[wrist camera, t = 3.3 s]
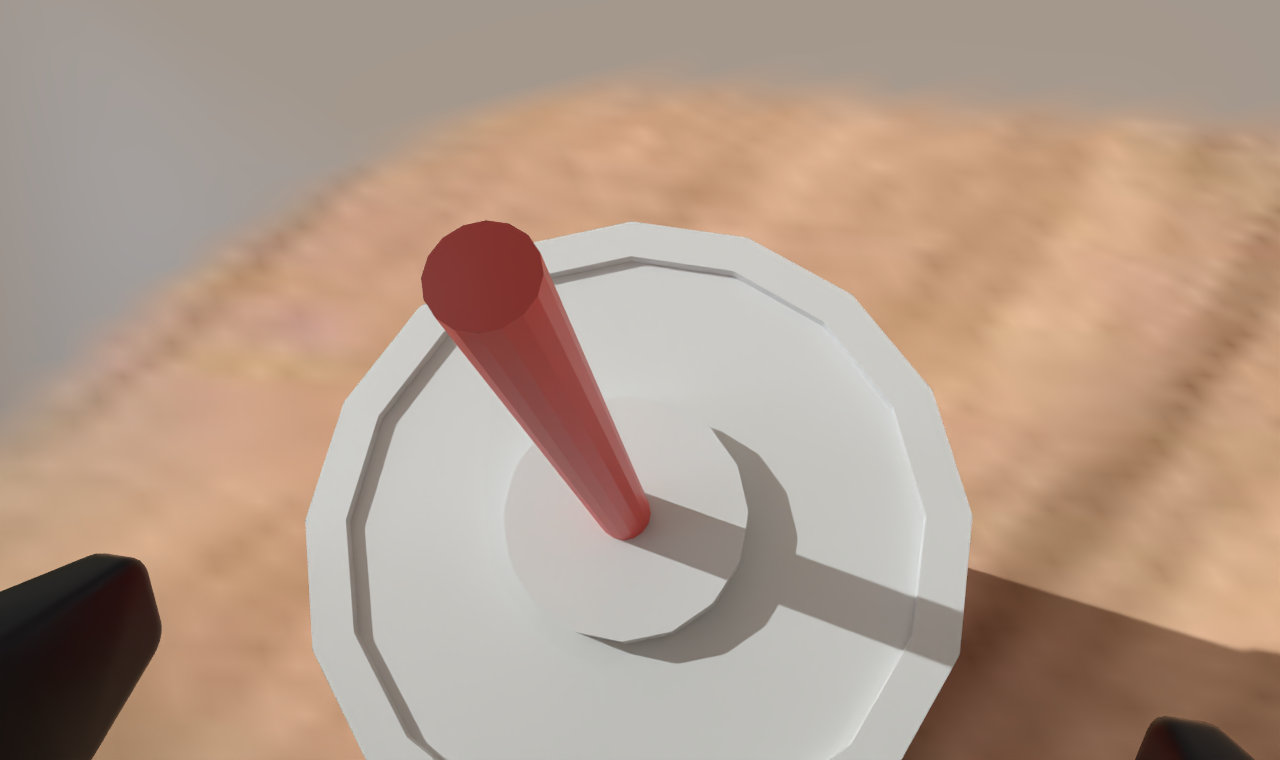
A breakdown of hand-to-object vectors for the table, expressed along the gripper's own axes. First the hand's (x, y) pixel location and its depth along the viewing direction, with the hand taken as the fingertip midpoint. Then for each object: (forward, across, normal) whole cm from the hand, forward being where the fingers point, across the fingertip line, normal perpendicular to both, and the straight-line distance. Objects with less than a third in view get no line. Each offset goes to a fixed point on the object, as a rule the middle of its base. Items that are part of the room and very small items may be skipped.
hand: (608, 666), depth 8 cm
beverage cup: (+7, 0, +6) cm, 9 cm away
